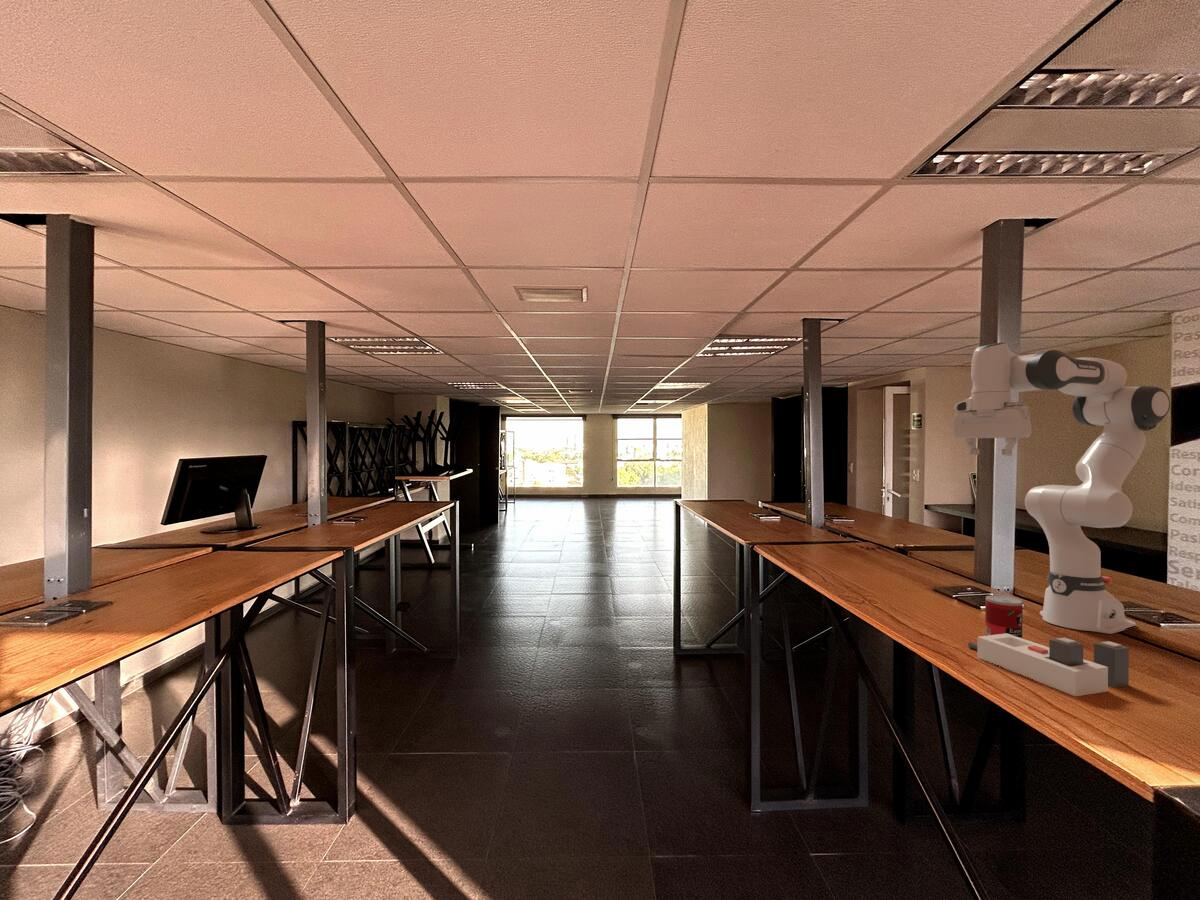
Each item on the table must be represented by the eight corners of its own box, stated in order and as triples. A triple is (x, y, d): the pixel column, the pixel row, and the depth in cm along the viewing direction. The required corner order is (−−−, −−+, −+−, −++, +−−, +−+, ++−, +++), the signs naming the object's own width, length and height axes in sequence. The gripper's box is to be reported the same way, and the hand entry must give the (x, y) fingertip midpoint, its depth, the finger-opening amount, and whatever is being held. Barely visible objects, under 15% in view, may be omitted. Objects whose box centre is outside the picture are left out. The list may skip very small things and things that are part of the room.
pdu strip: (984, 645, 145) (984, 608, 145) (1107, 691, 118) (1108, 645, 118) (955, 648, 143) (955, 611, 143) (1075, 696, 116) (1075, 650, 116)
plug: (1107, 678, 125) (1107, 639, 125) (1128, 685, 121) (1128, 645, 121) (1093, 680, 124) (1094, 641, 124) (1114, 687, 120) (1115, 647, 120)
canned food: (1012, 648, 143) (1012, 604, 143) (978, 639, 150) (978, 597, 150) (1029, 644, 146) (1029, 600, 146) (995, 634, 154) (995, 593, 154)
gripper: (1038, 401, 145) (1037, 456, 145) (966, 406, 165) (966, 454, 165) (1018, 400, 143) (1018, 456, 143) (949, 406, 163) (948, 454, 163)
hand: (990, 455), depth 154 cm, fingers open, 8 cm apart
